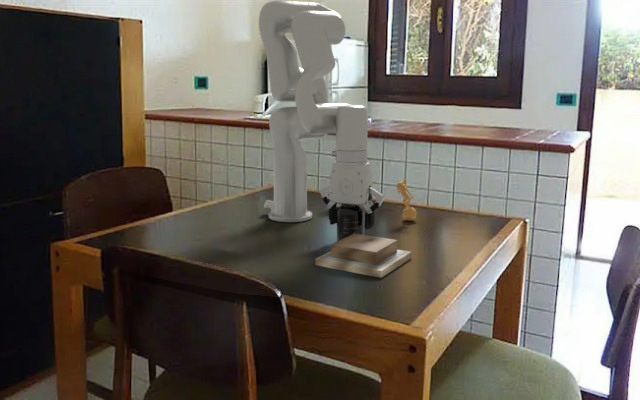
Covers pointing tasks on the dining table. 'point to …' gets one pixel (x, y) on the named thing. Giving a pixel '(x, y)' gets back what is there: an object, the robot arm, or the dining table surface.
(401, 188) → the figurine
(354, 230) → the supplement bottle
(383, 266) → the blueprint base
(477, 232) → the dining table surface
